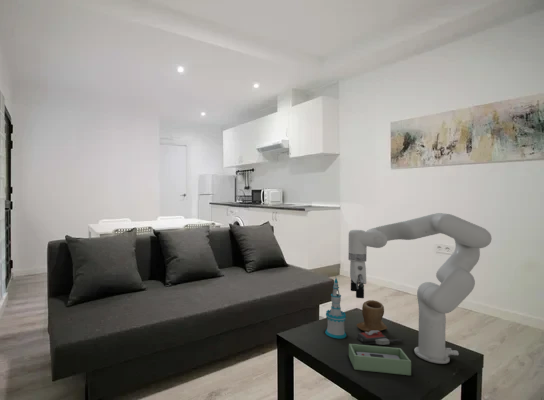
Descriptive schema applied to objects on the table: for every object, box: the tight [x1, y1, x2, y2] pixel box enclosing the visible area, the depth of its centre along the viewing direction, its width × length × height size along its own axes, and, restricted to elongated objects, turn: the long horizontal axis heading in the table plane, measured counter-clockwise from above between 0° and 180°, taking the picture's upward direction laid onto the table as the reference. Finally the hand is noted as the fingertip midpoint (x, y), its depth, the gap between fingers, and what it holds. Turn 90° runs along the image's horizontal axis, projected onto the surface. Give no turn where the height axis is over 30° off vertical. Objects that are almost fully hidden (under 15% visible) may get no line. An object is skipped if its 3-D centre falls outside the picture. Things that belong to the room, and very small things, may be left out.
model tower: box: [324, 274, 347, 339], centre depth 149 cm, size 10×10×30 cm
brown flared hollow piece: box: [356, 299, 388, 333], centre depth 153 cm, size 15×12×15 cm
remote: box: [356, 352, 400, 359], centre depth 121 cm, size 16×5×3 cm, turn 79°
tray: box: [348, 343, 412, 376], centre depth 121 cm, size 21×10×6 cm, turn 79°
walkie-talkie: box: [357, 330, 404, 346], centre depth 141 cm, size 9×4×20 cm
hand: (357, 294), depth 135 cm, fingers open, 9 cm apart
